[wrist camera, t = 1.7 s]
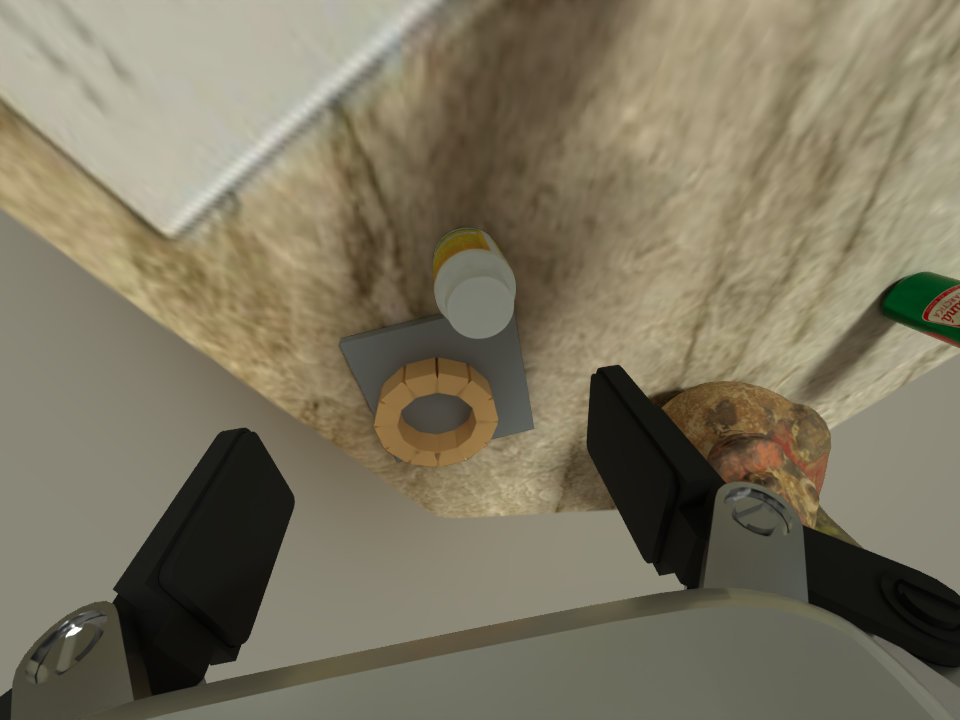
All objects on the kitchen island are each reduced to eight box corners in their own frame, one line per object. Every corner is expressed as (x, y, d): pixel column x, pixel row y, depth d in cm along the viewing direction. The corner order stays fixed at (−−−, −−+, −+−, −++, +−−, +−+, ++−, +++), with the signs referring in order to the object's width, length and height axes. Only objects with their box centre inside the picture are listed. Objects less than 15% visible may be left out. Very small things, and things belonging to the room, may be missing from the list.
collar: (480, 346, 33) (484, 361, 31) (501, 433, 39) (505, 450, 37) (360, 375, 33) (356, 392, 31) (400, 458, 39) (398, 477, 37)
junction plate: (510, 296, 32) (512, 301, 31) (531, 422, 40) (534, 428, 39) (341, 338, 32) (338, 344, 31) (397, 455, 40) (397, 462, 39)
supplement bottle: (511, 248, 29) (545, 294, 21) (476, 302, 31) (494, 362, 23) (454, 211, 27) (466, 245, 19) (419, 271, 29) (418, 325, 21)
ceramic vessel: (708, 283, 33) (1188, 545, 12) (783, 427, 46) (1088, 681, 25) (558, 393, 38) (722, 719, 17) (662, 497, 50) (832, 761, 29)
